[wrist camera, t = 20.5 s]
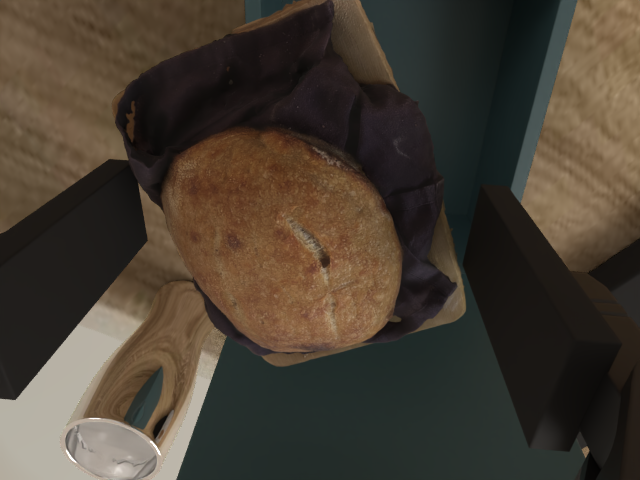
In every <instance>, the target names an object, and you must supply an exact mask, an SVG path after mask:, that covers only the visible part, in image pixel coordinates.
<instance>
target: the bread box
mask: <svg viewBox="0 0 640 480" xmlns="http://www.w3.org/2000/svg"><path fill="white" fill-rule="evenodd" d="M294 1H296V2H297V1H300V0H294ZM359 1H360V2H361V5H362V7H363V9H364V11H365V13H366V16H367V18H368V20H369V21H370V22H371V23H373V27H374V31H375V34H376V37H377V39H378V41H379V44H380V46H381V49H382V50H383V52H384V53H385V56H386V60H387V62H388V64H389V65H390V67H391V68H392V71H393V77H394V79H395V81H396V84H397V86H398V88H399V90H400V92H401V93H404V94H405V95H407V96H409V97H410V98H411V99H412V100H413V101H419V104H418V107H419V109H420V110H421V112H422V113H423V115H424V116H425V118H426V123H427V126H428V130H429V133H430V134H431V139H432V142H433V145H434V151H433V153H434V158H435V163H436V169H437V170H438V172H439V173H440V174H441V175H442V176H443V177H444V194H443V201H444V206H445V211H444V213H445V215H446V218H447V221H448V224H449V229H451V228H452V229H453V230H452V231H451V235H452V238H453V243H454V244H455V247H454V249H455V253H456V254H457V253H458V254H457V262H458V266H459V268H460V270H461V273H464V274H466V273H465V270H464V268H463V265H462V263H463V259H464V255H465V250H466V246H467V242H468V237H469V233H470V229H471V224H472V220H473V216H474V212H475V207H476V203H477V199H478V194H479V190H480V186H481V184H486V185H501V186H508V187H509V188H510V190H511V191H512V193H513V194H514V195H515V197H516V198H517V199H518V201H519V202H520V203H521V200H522V196H523V193H524V189H525V186H526V182H527V179H528V175H529V171H530V168H531V164H532V161H533V157H534V154H535V150H536V146H537V143H538V139H539V136H540V132H541V129H542V125H543V122H544V118H545V114H546V111H547V107H548V104H549V100H550V97H551V93H552V89H553V86H554V82H555V79H556V75H557V72H558V68H559V64H560V61H561V57H562V54H563V50H564V47H565V43H566V40H567V36H568V32H569V29H570V25H571V22H572V18H573V15H574V11H575V7H576V4H577V0H359ZM286 4H293V0H245V21H246V24H247V23H250V22H252V21H255V20H258V19H261V18H265V17H269V16H270V15H272V14H274V13H275V12H277V11H279V10H282V9H283V8H284V7H285V5H286Z"/></svg>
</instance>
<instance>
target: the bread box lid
mask: <svg viewBox="0 0 640 480" xmlns="http://www.w3.org/2000/svg"><path fill="white" fill-rule="evenodd" d="M461 275H462V276H461V278H462V279H463V286H465V287H464V291H465V299H466V311H465V313H464V314H463V316H461V317H460V318H459V319H457V320H456V321H454V322H451V323H447V324H442V325H439V326H435V327H432V328H428V329H424V330H421V331H417V332H414V333H410V334H407V335H405V336H403V337H402V338H400V339H399V340H396V341H390V342H386V343H372V344H368V345H365V346H361V347H358V348H354V349H350V350H347V351H344V352H340V353H336V354H332V355H328V356H323V357H319V358H315V359H310V360H308V361H306V362H301V363H297V364H294V365H290V366H283V367H276V366H274V365H272V364H270V363H269V362H267V361H265V360H264V359H263V358H262V356H258V355H256V354H254V353H252V352H251V351H250V350H249V349H248V348H247V347H246V346H242V345H240V344H239V343H237V342H236V341H234V340H232V339H231V338H230V337H228V336H227V337H226V340H225V343H224V346H223V348H222V351H221V354H220V357H219V360H218V363H217V366H216V368H215V371H214V374H213V377H212V380H211V383H210V386H209V388H208V391H207V394H206V397H205V400H204V403H203V405H202V408H201V411H200V414H199V417H198V420H197V422H196V426H195V428H194V431H193V434H192V437H191V440H190V442H189V445H188V448H187V451H186V454H185V457H184V460H183V462H182V465H181V468H180V471H179V474H178V477H177V479H176V480H575V478H576V476H577V474H578V472H579V470H580V468H581V466H582V465H583V463H584V461H585V459H586V458H585V456H584V454H583V452H582V449H581V447H580V445H579V443H578V441H577V438H576V440H575V442H574V444H573V446H572V448H571V450H570V452H565V451H554V450H544V449H533V448H529V447H528V444H527V441H526V438H525V436H524V433H523V430H522V427H521V425H520V422H519V419H518V416H517V414H516V411H515V408H514V405H513V403H512V400H511V397H510V394H509V392H508V389H507V386H506V383H505V381H504V378H503V375H502V372H501V370H500V367H499V364H498V361H497V359H496V356H495V353H494V350H493V347H492V345H491V342H490V339H489V336H488V334H487V331H486V328H485V325H484V323H483V320H482V317H481V314H480V312H479V309H478V306H477V303H476V301H475V298H474V295H473V292H472V290H471V287H470V284H469V281H468V279H467V276H466V274H464V273H461Z"/></svg>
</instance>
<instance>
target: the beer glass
mask: <svg viewBox="0 0 640 480" xmlns="http://www.w3.org/2000/svg"><path fill="white" fill-rule="evenodd" d="M214 327H215V326H214V325H213V323H212V322H211V321H210V319H209V317H208V314H207V312H206V310H205V306H204V298H203V297H202V295H201V293H200V292H198V291H196V289H195V286H194V282H190V281H182V280H180V281H173V282H169V283H167V284H165V285H164V286H162V287H161V288H160V289H159V290H158V291H157V293H156V295H155V297H154V300H153V303H152V306H151V309H150V312H149V314H148V316H147V318H146V319H145V320H144V322H143V323H142V324H141V325H140V326H139V327H138V328H137V329H136V330H135V331H134V332H133V333H132V334H131V335H130V336H129V337H128V338H127V339H126V340H125V341H124V342H123V343H122V345H120V347H118V348H117V349H116V350H115V352H114V353H113V354H112V355H111V356H110V357H109V358H108V360H107V361H106V362H105V363H104V364H103V366H102V367H101V368H100V370H99V371H98V372H97V374H96V375H95V377H94V378H93V379H92V381H91V383H90V384H89V386H88V388H87V389H86V391H85V392H84V394H83V396H82V398H81V399H80V401H79V403H78V405H77V406H76V408H75V410H74V412H73V414H72V416H71V418H70V420H69V421H68V423H67V425H66V427H65V428H64V429H63V431H62V433H61V435H60V446H61V449H62V451H63V453H64V455H65V456H66V458H67V459H68V460H69V461H70V462H71V463H72V464H73V465H74V466H75V467H77V468H78V469H80V470H81V471H83V472H84V473H86V474H88V475H90V476H92V477H94V478H97V479H99V480H150V479H152V478H153V477H155V476H156V475H157V474H158V473H159V471H160V469H161V467H162V464H163V462H164V460H165V458H166V456H167V454H168V452H169V450H170V448H171V446H172V444H173V442H174V440H175V438H176V436H177V434H178V432H179V430H180V427H181V425H182V423H183V421H184V418H185V416H186V413H187V410H188V408H189V405H190V402H191V398H192V394H193V390H194V386H195V382H196V376H197V371H198V365H199V359H200V355H201V350H202V347H203V344H204V342H205V340H206V338H207V337H208V335H209V334H210V333H211V331H212V330H213V329H214Z"/></svg>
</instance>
